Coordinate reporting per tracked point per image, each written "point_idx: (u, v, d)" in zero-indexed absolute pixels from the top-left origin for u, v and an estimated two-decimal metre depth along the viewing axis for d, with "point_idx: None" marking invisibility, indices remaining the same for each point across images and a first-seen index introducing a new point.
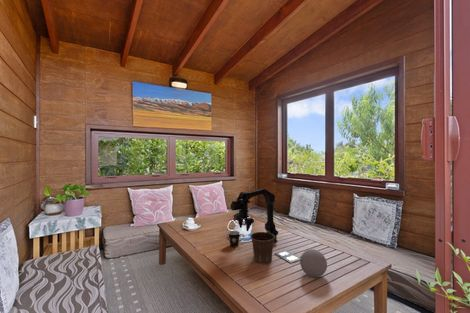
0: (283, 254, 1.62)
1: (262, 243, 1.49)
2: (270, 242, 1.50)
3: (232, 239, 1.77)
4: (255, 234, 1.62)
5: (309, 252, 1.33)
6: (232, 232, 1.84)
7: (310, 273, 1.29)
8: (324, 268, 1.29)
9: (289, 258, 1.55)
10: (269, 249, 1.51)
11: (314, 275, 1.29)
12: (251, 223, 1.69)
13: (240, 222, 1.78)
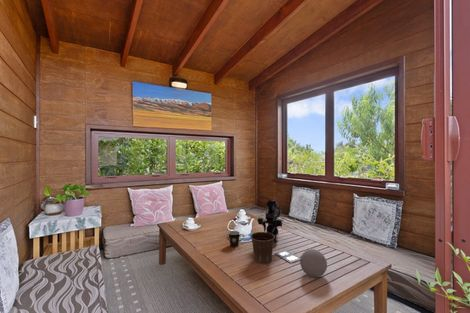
0: (283, 254, 1.62)
1: (262, 243, 1.49)
2: (270, 242, 1.50)
3: (232, 239, 1.77)
4: (255, 234, 1.62)
5: (309, 252, 1.33)
6: (232, 232, 1.84)
7: (310, 273, 1.29)
8: (324, 268, 1.29)
9: (289, 258, 1.55)
10: (269, 249, 1.51)
11: (314, 275, 1.29)
12: (275, 227, 1.77)
13: (265, 226, 1.77)
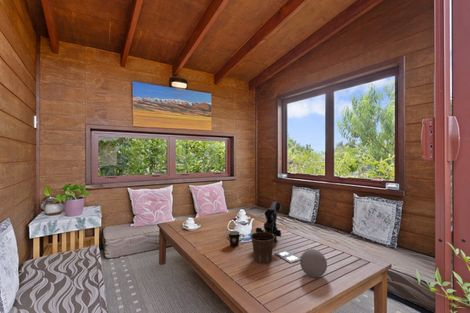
0: (283, 254, 1.62)
1: (262, 243, 1.49)
2: (270, 242, 1.50)
3: (232, 239, 1.77)
4: (255, 234, 1.62)
5: (309, 252, 1.33)
6: (232, 232, 1.84)
7: (310, 273, 1.29)
8: (324, 268, 1.29)
9: (289, 258, 1.55)
10: (269, 249, 1.51)
11: (314, 275, 1.29)
12: None
13: None
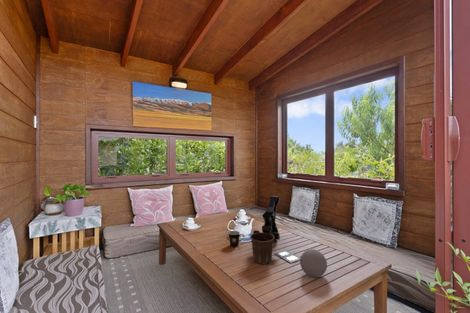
0: (283, 254, 1.62)
1: (261, 244, 1.48)
2: (269, 243, 1.49)
3: (232, 239, 1.77)
4: (255, 234, 1.61)
5: (309, 252, 1.33)
6: (232, 232, 1.84)
7: (310, 273, 1.29)
8: (324, 268, 1.29)
9: (289, 258, 1.55)
10: (268, 250, 1.49)
11: (314, 275, 1.29)
12: None
13: None
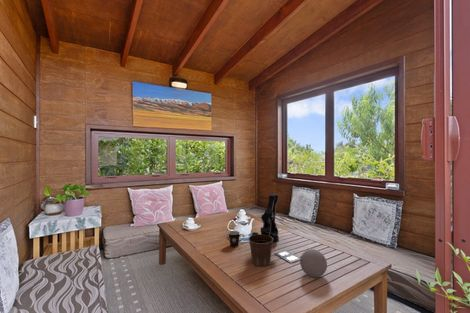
0: (283, 254, 1.62)
1: (259, 246, 1.44)
2: (268, 245, 1.45)
3: (232, 239, 1.77)
4: (253, 236, 1.58)
5: (309, 252, 1.33)
6: (232, 232, 1.84)
7: (310, 273, 1.29)
8: (324, 268, 1.29)
9: (289, 258, 1.55)
10: (267, 252, 1.46)
11: (314, 275, 1.29)
12: None
13: None
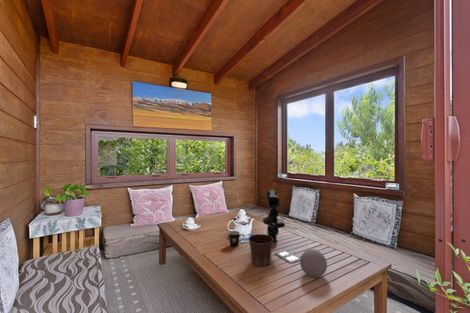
0: (283, 254, 1.62)
1: (259, 246, 1.44)
2: (268, 245, 1.45)
3: (232, 239, 1.77)
4: (253, 236, 1.58)
5: (309, 252, 1.33)
6: (232, 232, 1.84)
7: (310, 273, 1.29)
8: (324, 268, 1.29)
9: (289, 258, 1.55)
10: (267, 252, 1.46)
11: (314, 275, 1.29)
12: None
13: None
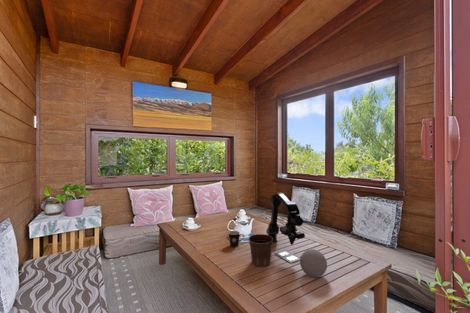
0: (283, 254, 1.62)
1: (259, 246, 1.44)
2: (268, 245, 1.45)
3: (232, 239, 1.77)
4: (253, 236, 1.58)
5: (309, 252, 1.33)
6: (232, 232, 1.84)
7: (310, 273, 1.29)
8: (324, 268, 1.29)
9: (289, 258, 1.55)
10: (267, 252, 1.46)
11: (314, 275, 1.29)
12: None
13: None
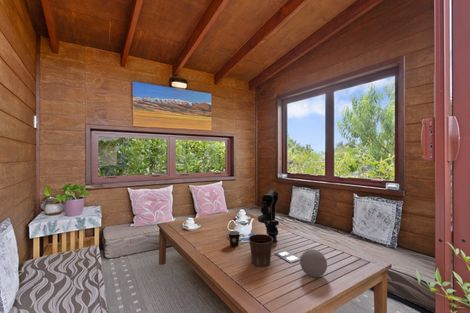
0: (283, 254, 1.62)
1: (259, 246, 1.44)
2: (268, 245, 1.45)
3: (232, 239, 1.77)
4: (253, 236, 1.58)
5: (309, 252, 1.33)
6: (232, 232, 1.84)
7: (310, 273, 1.29)
8: (324, 268, 1.29)
9: (289, 258, 1.55)
10: (267, 252, 1.46)
11: (314, 275, 1.29)
12: None
13: None
